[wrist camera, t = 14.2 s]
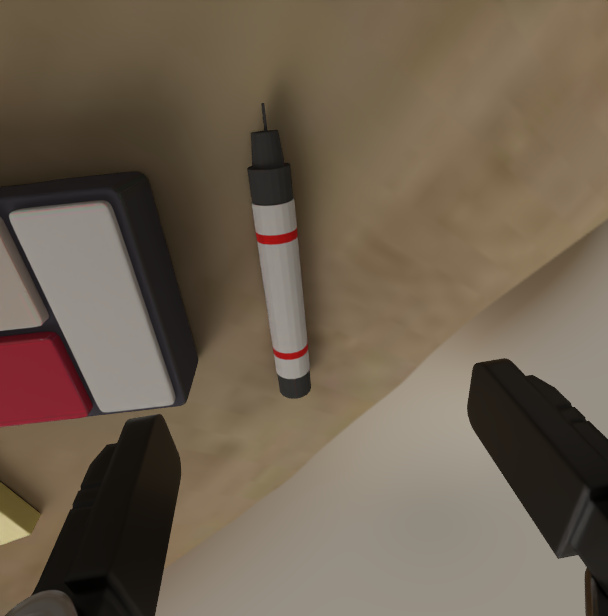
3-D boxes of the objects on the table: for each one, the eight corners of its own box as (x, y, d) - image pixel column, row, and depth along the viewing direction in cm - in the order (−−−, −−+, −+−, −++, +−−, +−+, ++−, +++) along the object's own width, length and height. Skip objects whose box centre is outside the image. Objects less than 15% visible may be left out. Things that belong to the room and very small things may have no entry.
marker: (309, 375, 24) (313, 396, 22) (278, 379, 24) (280, 401, 22) (282, 100, 17) (286, 100, 15) (237, 105, 16) (236, 105, 15)
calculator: (-327, 235, 13) (110, 189, 13) (-192, 204, 17) (146, 169, 17) (-124, 453, 18) (185, 417, 19) (-56, 392, 22) (200, 363, 22)
